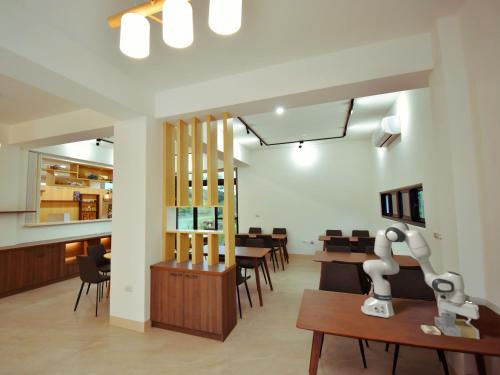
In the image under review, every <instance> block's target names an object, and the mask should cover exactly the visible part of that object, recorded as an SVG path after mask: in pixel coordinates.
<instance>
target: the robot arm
mask: <svg viewBox="0 0 500 375" xmlns="http://www.w3.org/2000/svg"><path fill="white" fill-rule="evenodd" d="M374 240H375V241H374V247H373V248H374V249H373V252H374V254H375V255H376V256H378V257H379V259H368V260H365V261H364V262H363V264H362V267H363V271H364V272H365V273H366V274H367V275H368V276H369V277H370V278H371V280H372V284H373V290H374V291H372V290H370V291H369V294H371V296H370V297H368V298H367V299H365V300H364V303H363V305H361V307H360V310H361V311H362V313H363V314H365V315H367V316H368V315H370V316H373V317H374V316H375V317H382V318H387V319H389V318H390V317H393V316H394V315H395V312H394V309H393V303H392V302H393V298H392V293H391V283H390V282H389V281H388V280H387V279H385V278H383V276H384V275H386V276H387V275H389V276H390V275H396V274H398V273H399V272H400V266H399V263H398V262H397V261H395V259H393V257H392V244H393V243H404V242H405V243H406V244H407V246H408V248H409V250H410V252H411V254H412V255H413V257H414V258H415V259H416V260H417V262H418V264H419V266H420V268H421V270H422V273H423V280H424V282H425V285H427V287H430V288H431V289H432V290H433V291H436V292H437V293H439V294H438V297H437V309H438V308H439V309H443V310H445V313H448V311H449V312H453V313H456V315H460V316H463V317H465V318H467V319H465V320H466V324H471V321H472V319H473V320H478V319H480V314H479V313H480V312H479V305H478V304H477V303H475V302H472V301H470V302H469V301H466V299H465V281H464V277H463V276H462V275H461V274H459V273H457V272H456V271H446V272H445V273H443V274H440V275H439V274H438V273H437V272H436V271H435V270H434V268H433V266H432V264H431V262H430V257H431V255H432V250H431V248H430V246H429V244H428V242H427V239H425V237H424V236H423V234H422V233H421V232H420V231H419V230H417V229H412V230H411V229H409V226H408V224H407V223H405V222H402V221H396V222H395V223H392V224H391V225H390V226H389V227H388V228H387V229H378V231H377V233H376V235H375V239H374ZM438 298H439V299H438Z"/></svg>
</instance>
